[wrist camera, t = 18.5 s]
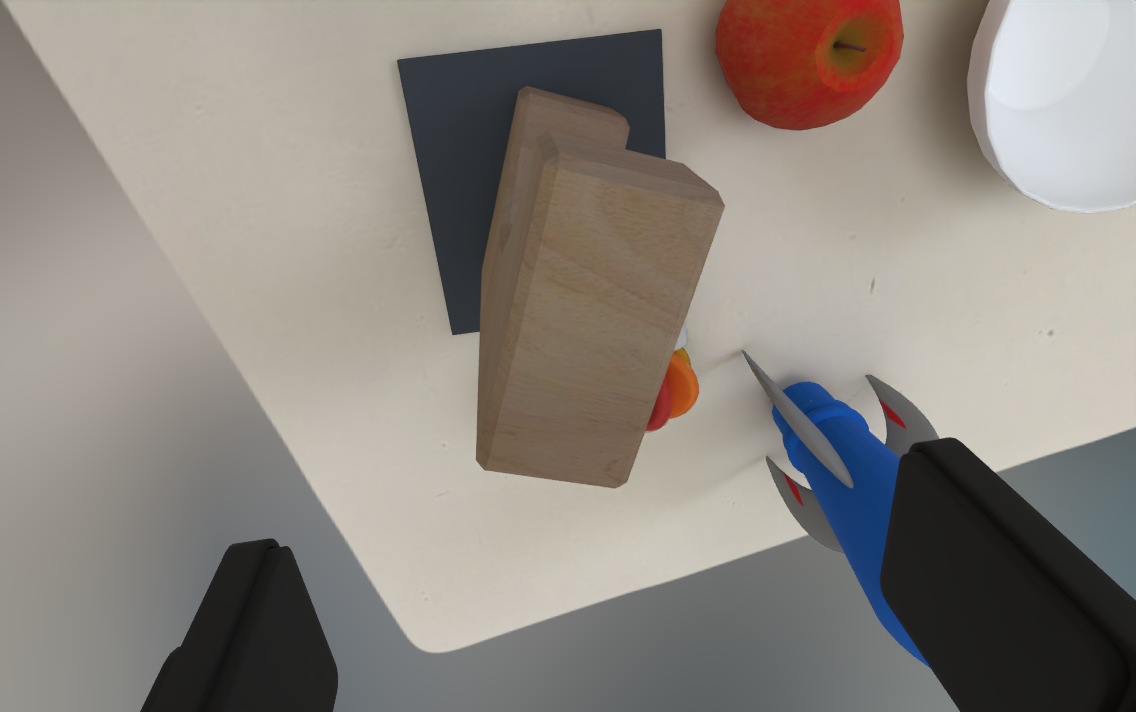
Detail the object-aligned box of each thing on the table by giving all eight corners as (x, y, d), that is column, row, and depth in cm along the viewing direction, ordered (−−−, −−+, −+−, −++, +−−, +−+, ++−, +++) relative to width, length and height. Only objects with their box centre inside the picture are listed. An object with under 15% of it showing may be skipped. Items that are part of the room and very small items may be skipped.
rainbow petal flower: (673, 406, 47) (702, 474, 41) (535, 408, 46) (543, 478, 39) (693, 296, 43) (728, 353, 36) (541, 294, 42) (551, 353, 35)
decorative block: (520, 81, 36) (549, 149, 18) (620, 109, 37) (739, 199, 19) (477, 271, 41) (467, 473, 23) (567, 291, 42) (624, 498, 24)
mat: (452, 332, 43) (452, 335, 42) (397, 59, 35) (396, 60, 35) (669, 303, 43) (670, 305, 43) (659, 28, 36) (661, 29, 35)
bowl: (1237, -11, 38) (1384, -15, 32) (1025, 229, 43) (1115, 265, 37) (1063, -204, 33) (1195, -254, 27) (848, 95, 38) (917, 111, 32)
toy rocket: (732, 345, 45) (963, 665, 23) (871, 300, 45) (1244, 584, 22) (758, 466, 50) (969, 826, 28) (884, 427, 50) (1199, 762, 27)
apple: (663, 47, 36) (724, 59, 27) (775, -91, 34) (885, -131, 24) (763, 146, 39) (850, 189, 30) (872, 25, 37) (1004, 30, 27)
